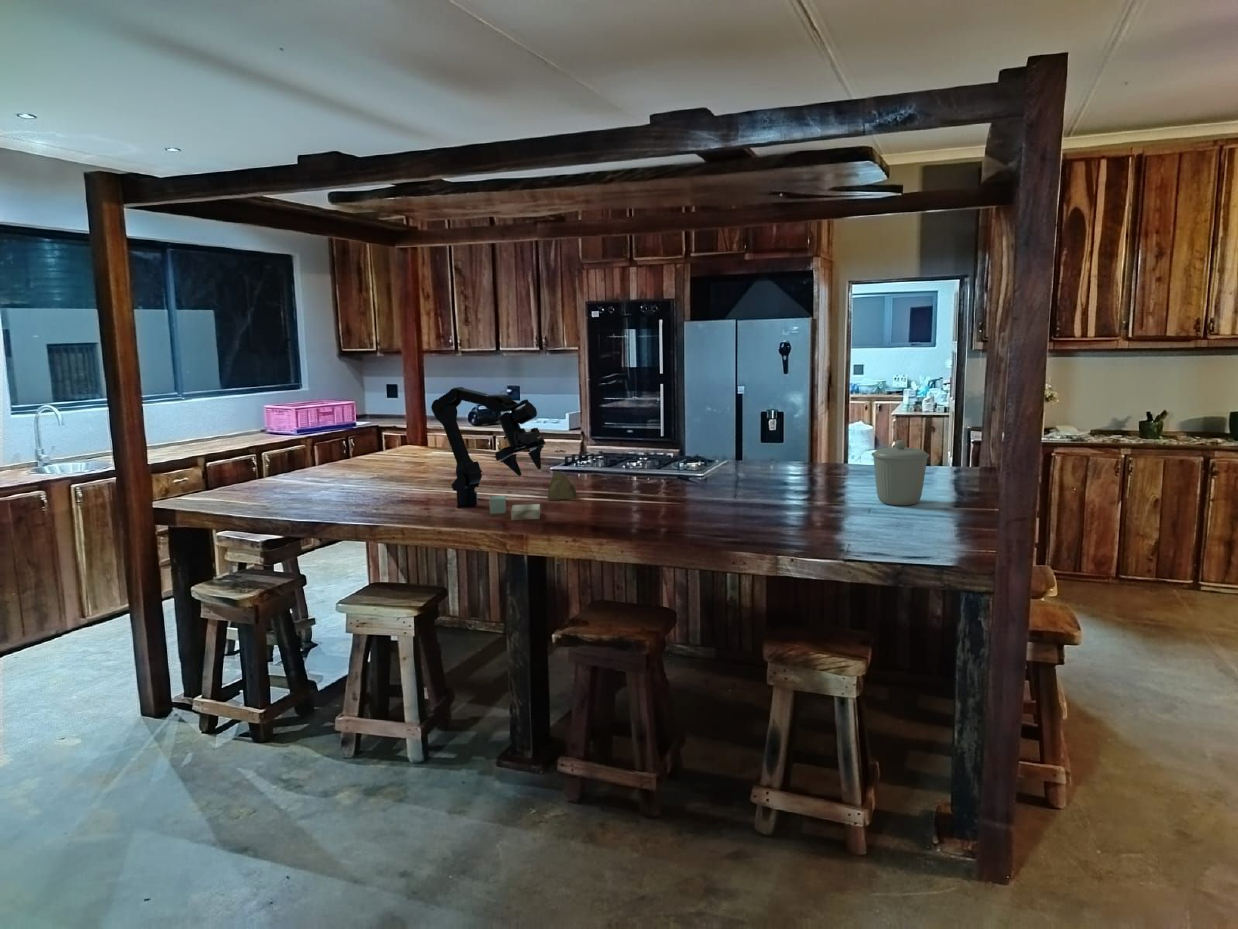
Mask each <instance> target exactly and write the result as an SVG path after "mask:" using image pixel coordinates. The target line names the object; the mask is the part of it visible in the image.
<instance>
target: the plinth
mask: <svg viewBox="0 0 1238 929" xmlns="http://www.w3.org/2000/svg"><path fill="white" fill-rule="evenodd" d="M510 516H511V521H517V520H518V521H520V520H521V521H522V520H540V517H541V504H540V503H536V504H535V503H532V504H530V503H529V504H512V507H511V510H510Z"/></svg>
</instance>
